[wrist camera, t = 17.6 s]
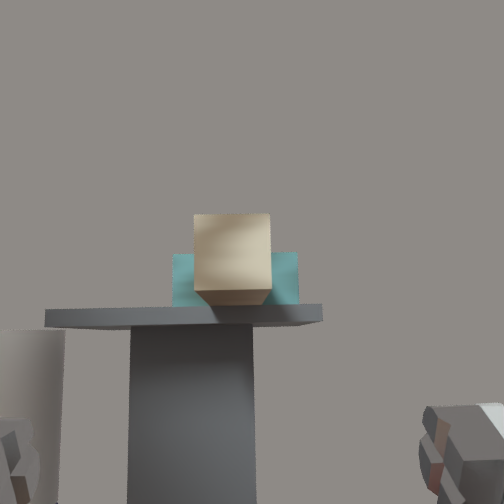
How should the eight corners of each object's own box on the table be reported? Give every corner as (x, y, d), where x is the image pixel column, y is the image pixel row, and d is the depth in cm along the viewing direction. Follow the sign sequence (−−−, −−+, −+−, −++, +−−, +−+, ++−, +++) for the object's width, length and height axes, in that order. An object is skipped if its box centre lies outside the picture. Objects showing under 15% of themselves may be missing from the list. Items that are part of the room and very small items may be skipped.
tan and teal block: (128, 291, 18) (130, 203, 19) (186, 314, 38) (186, 271, 39) (336, 287, 19) (331, 200, 19) (287, 312, 38) (285, 269, 39)
